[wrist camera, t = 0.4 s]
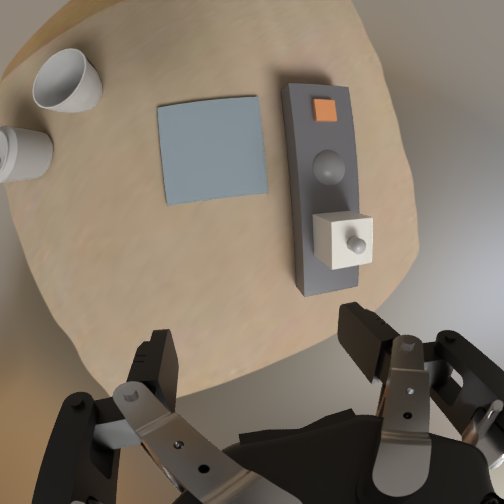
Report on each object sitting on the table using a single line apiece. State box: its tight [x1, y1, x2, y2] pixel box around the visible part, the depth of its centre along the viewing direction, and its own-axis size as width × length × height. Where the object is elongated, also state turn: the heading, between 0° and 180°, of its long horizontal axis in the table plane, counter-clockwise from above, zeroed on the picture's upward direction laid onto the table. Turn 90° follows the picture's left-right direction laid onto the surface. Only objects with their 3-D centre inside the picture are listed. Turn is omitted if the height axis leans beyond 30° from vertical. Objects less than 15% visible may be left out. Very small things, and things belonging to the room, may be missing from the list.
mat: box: [158, 97, 268, 206], centre depth 35 cm, size 14×14×1 cm
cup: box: [33, 48, 103, 113], centre depth 25 cm, size 8×8×10 cm
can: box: [0, 126, 53, 183], centre depth 25 cm, size 8×8×12 cm
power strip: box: [281, 83, 359, 297], centre depth 37 cm, size 30×9×5 cm, turn 6°
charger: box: [312, 211, 373, 270], centre depth 34 cm, size 6×6×10 cm
